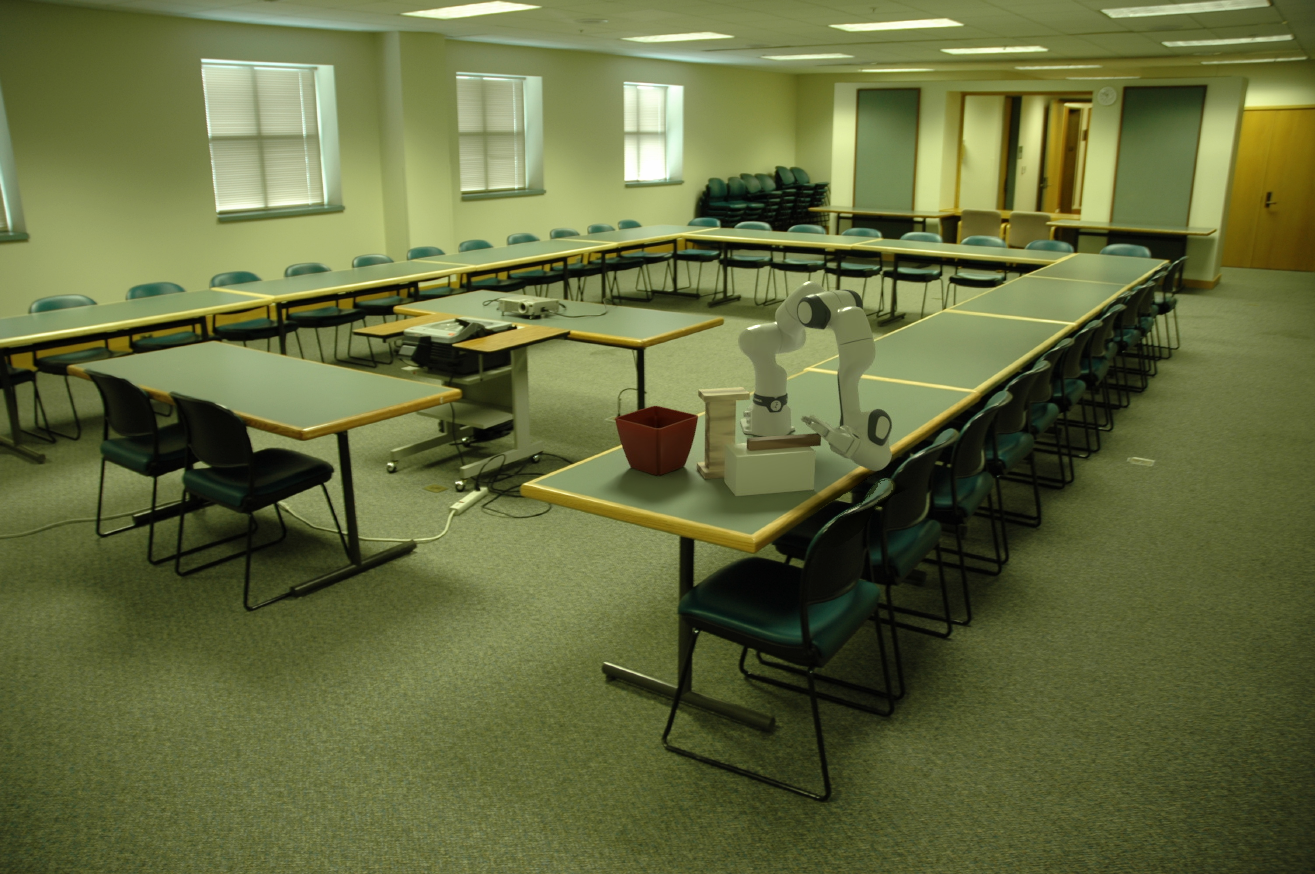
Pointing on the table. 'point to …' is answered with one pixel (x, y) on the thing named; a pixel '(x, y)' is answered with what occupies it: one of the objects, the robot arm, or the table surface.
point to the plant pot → (657, 438)
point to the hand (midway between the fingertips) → (806, 421)
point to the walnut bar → (783, 442)
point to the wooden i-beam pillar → (719, 427)
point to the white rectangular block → (768, 469)
